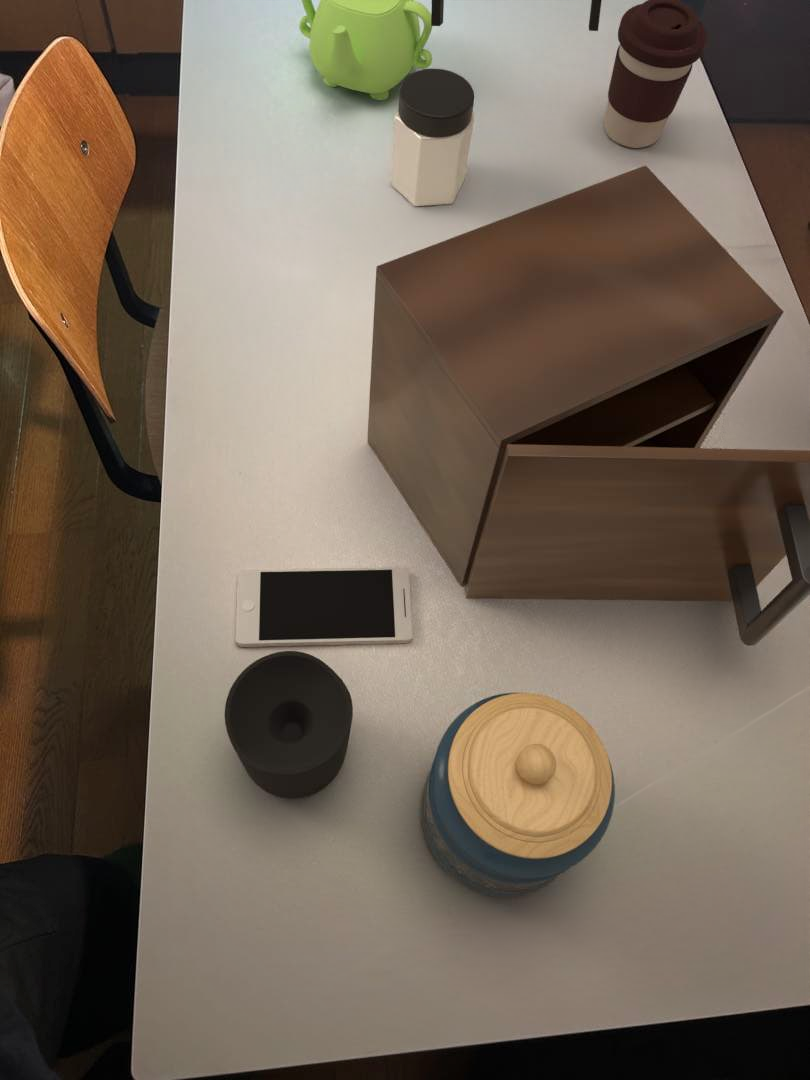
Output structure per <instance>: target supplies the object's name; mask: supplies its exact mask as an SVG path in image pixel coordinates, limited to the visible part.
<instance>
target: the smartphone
mask: <svg viewBox="0 0 810 1080" xmlns="http://www.w3.org/2000/svg"><path fill="white" fill-rule="evenodd" d="M410 583H411V582H410V570H409V568H407V567H404V566H393V567H392V566H391V567H390V566H389V567H382V566H381V567H337V568H335V567H334V568H333V567H331V568H330V567H329V568H328V567H327V568H279V569H278V568H277V569H273V568H272V569H271V568H270V569H268V568H267V569H242V570H239V571H238V572H237V584H236V585H237V587H236V614H235V615H236V616H235V644H236V646H238V647H241V648H258V647H259V648H260V647H265V648H266V647H301V646H340V645H345V646H346V645H347V646H348V645H385V644H408V643H411V642H412V641H413V637H414V635H413V634H414V633H413V615H412V601H411V600H412V599H411V584H410Z"/></svg>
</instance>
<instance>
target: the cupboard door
mask: <svg viewBox="0 0 810 1080" xmlns="http://www.w3.org/2000/svg"><path fill="white" fill-rule="evenodd" d="M785 557H786V559H787V563H788V568H789V572H790V576H791V581H789V583H787V585H786V586H785V587H784V588H782V589H781V590H780V592H778V593H777V595H775V596H774V597H773V599H772V600H770V602H769V603H768V604H767V605H766V606H764V607H763V608H761V607H762V606H761V603H760V599H759V594H758V589H757V587H758V586H759V585H760V584H761V583H762V582H763V581H764V580H765V578H766V577H767V576H768V575H769V574H770V573H771V572H772V571H773V570H774V569H775V568H776V567H777V566H778V565H779V564H780V562H781V561H782V560H783V559H784V558H785ZM464 590H465V599H515V600H516V599H519V600H520V599H523V600H524V599H525V600H526V599H527V600H538V599H539V600H611V601H612V600H620V601H622V600H623V601H625V600H626V601H629V600H630V601H710V602H711V601H718V602H719V601H721V602H722V601H724V602H726V601H727V602H732V604H733V610H734V614H735V619H736V625H737V630H738V634H739V635H738V636H739V638H740V641H741V643H743V644H744V645H746V646H749V647H754V646H757V644H758V643H759V642H761V641H762V640H763V639H764V638H765V637H766V636H767V635H768V634H769V633H770V632H771V631H773V629H775V627H777V626H778V625H779V624H780V623H781V622H782V621H783V620H784V619H785V618H786V617H787V616H788V615H789V614H791V612H793V611H794V610H796V608H798V606H799V605H800V604H801V603H802V602H804V600H806V598H808V597H809V596H810V450H807V449H805V450H803V449H800V450H799V449H757V448H755V449H754V448H712V447H710V448H709V447H700V448H666V447H619V446H572V445H525V444H507V446H506V449H505V453H504V456H503V460H502V463H501V467H500V470H499V474H498V477H497V481H496V484H495V488H494V491H493V494H492V498H491V501H490V505H489V508H488V512H487V515H486V519H485V522H484V526H483V529H482V533H481V536H480V540H479V543H478V547H477V550H476V553H475V557H474V560H473V564H472V567H471V571H470V574H469V578H468V581H467V584H466V585H465V589H464Z"/></svg>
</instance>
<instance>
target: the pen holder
mask: <svg viewBox="0 0 810 1080" xmlns="http://www.w3.org/2000/svg"><path fill="white" fill-rule="evenodd" d="M353 709H354V706H353V700H352V697H351V693H350V691H349V689H348V687H347V685H346V684H345V682H344V681H343V679H342V678H341V677H340V676H339V675H338V673H337V672H335V671H334V670H333V669H332V668H331V666H329V665H328V664H327V663H326V662H324V661H323V660H321V659H320V658H318V657H316V656H314V655H313V654H310V653H307V652H303V651H298V650H284V651H277V652H273V653H270V654H267V655H265V656H262V657H260V658H258V659H257V660H254V661H253V662H252V663H250V664H249V665H248V666H246V667H245V669H244V670H243V671H241V672H240V674H239V675H238V676H237V677H236V679H235V681H233V683H232V686H231V687H230V689H229V691H228V694H227V697H226V701H225V705H224V724H225V730H226V731H227V732H226V733H227V735H228V739H229V741H230V743H231V745H232V747H233V749H234V751H235V754H236V755H237V757H238V759H239V761H240V762H241V764H242V766H243V768H244V769H245V771H246V773H247V774H248V776H249V777H250V778H251V780H252V781H253V782H254V783H255V784H256V785H257V786H258V787H259V788H260V789H261V790H263V791H265V793H268V794H270V795H273V796H275V797H279V798H284V799H299V798H300V799H301V798H305V797H309V796H311V795H314V794H316V793H318V792H320V791H322V790H323V789H324V788H326V787H327V786H328V785H329V784H330V783H332V781H333V780H334V779H335V778H336V776H337V775H338V774H339V772H340V770H341V769H342V767H343V764H344V762H345V758H346V755H347V751H348V747H349V741H350V735H351V729H352V723H353V714H354V710H353Z"/></svg>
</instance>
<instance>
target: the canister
mask: <svg viewBox="0 0 810 1080" xmlns="http://www.w3.org/2000/svg"><path fill="white" fill-rule="evenodd" d="M436 748H437V749H436V751H435V754H434V758H433V761H432V763H431V767H430V770H429V773H428V774H427V777H426V779H425V782H424V786H423V790H422V793H421V800H420V818H421V825H422V830H423V834H424V837H425V840H426V842H427V845H428V847H429V849H430V851H431V853H432V855H433V857H434V858H435V860H436V861H437V862H438V864H439V865H440V866H441V867H442V869H443V870H444V871H445V872H446V873H447V874H448V875H449V876H451V878H452V879H454V880H456V881H457V882H458V883H460V884H461V885H463V886H464V887H466V888H468V889H469V890H473V891H474V892H477V893H480V894H483V895H487V896H490V897H496V898H514V897H521V896H525V895H529V894H532V893H534V892H537V891H540V890H542V889H543V888H545V887H546V886H548V885H550V884H551V883H553V882H554V881H555V880H557V878H559V877H560V876H561V875H562V874H564V873H566V872H567V871H569V870H570V869H572V868H573V867H574V866H577V865H578V864H579V863H580V862H582V861H583V860H584V859H586V858H587V857H588V856H589V855H590V854H591V853H592V852H593V851H594V850H595V849H596V847H597V846H598V845H599V843H601V841H602V839H603V837H604V836H605V835H606V832H607V830H608V828H609V826H610V823H611V820H612V817H613V812H614V807H615V797H616V785H615V776H614V771H613V767H612V764H611V761H610V758H609V755H608V753H607V750H606V748H605V746H604V743H603V741H602V740H601V738H600V736H599V735H598V733H597V731H596V730H595V728H593V726H592V725H591V724H590V723H589V722H588V721H587V719H585V717H584V716H582V715H581V713H579V712H578V711H576V710H575V708H573V707H571V706H569V705H568V704H566V703H564V702H562V701H559V700H558V699H555V698H553V697H549V696H547V695H543V694H537V693H532V692H531V693H529V692H505V693H500V694H499V693H498V694H494V695H492V696H488V697H485V698H483V699H481V700H478V701H476V702H475V703H473V704H471V705H470V706H468V707H467V708H465V709H464V710H463V711H462V712H461V713H459V715H457V717H455V719H454V720H452V722H451V723H450V725H449V726H448V727H447V728H446V730H445V731H444V733H443V735H442V737H441V739H440V741H439V744H438V746H437V747H436Z"/></svg>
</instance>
